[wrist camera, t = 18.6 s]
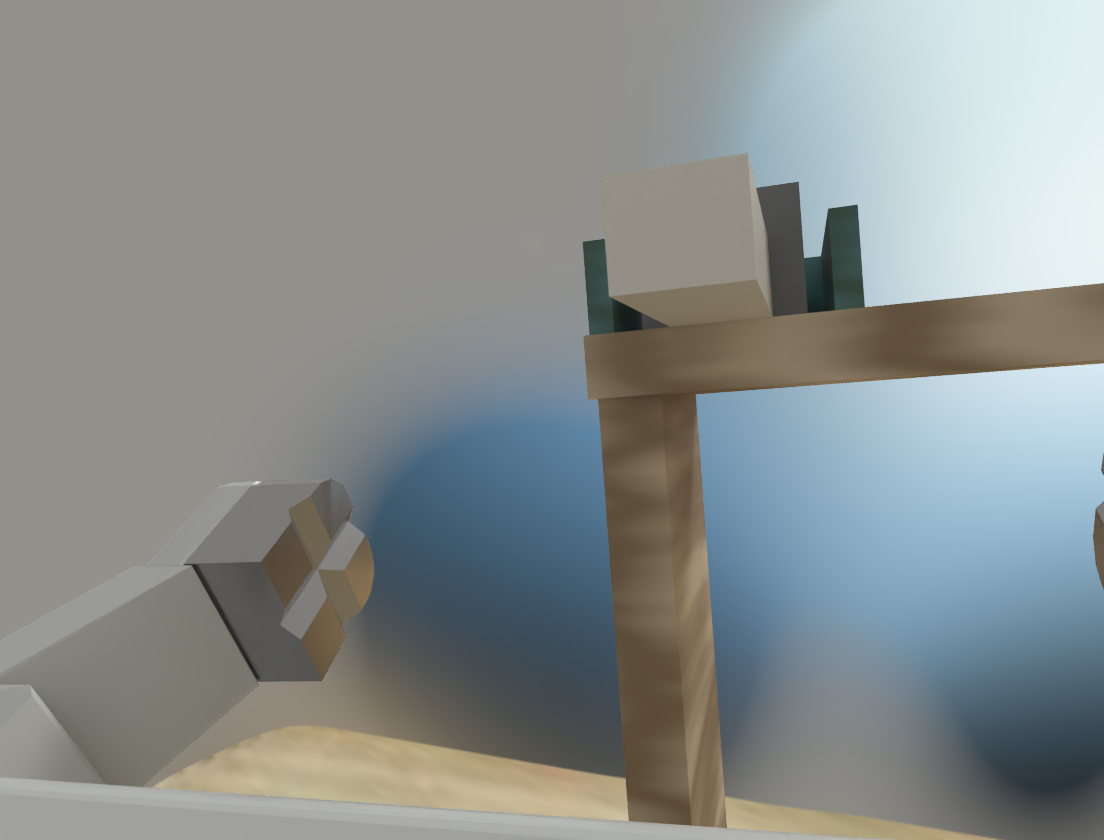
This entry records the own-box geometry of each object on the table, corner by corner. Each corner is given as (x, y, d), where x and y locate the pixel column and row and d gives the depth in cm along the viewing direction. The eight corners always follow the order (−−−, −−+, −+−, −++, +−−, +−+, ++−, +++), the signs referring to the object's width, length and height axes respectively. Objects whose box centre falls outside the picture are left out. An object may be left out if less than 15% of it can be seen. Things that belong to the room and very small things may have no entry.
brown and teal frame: (1252, 1019, 30) (1199, 215, 29) (1468, 1317, 20) (1392, 129, 20) (685, 951, 36) (637, 281, 35) (643, 1156, 26) (576, 240, 26)
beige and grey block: (809, 273, 16) (795, 67, 16) (563, 301, 17) (549, 112, 17) (807, 332, 31) (799, 227, 31) (676, 344, 33) (668, 244, 33)
